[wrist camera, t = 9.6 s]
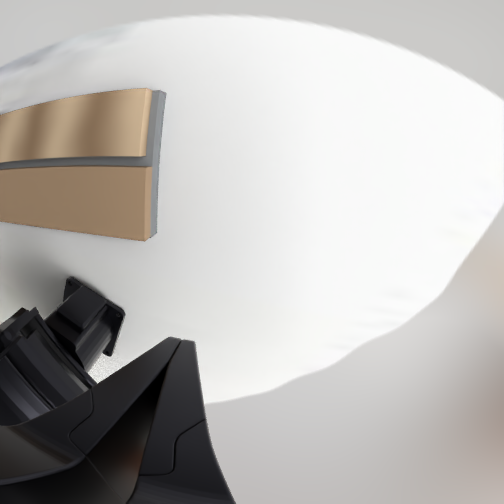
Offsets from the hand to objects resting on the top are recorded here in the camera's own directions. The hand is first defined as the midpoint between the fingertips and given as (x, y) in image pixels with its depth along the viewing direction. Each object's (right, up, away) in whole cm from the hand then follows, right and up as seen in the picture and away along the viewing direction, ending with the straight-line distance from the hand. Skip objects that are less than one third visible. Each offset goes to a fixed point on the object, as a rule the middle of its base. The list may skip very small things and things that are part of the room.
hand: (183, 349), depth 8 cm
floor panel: (-14, +10, +10) cm, 20 cm away
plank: (-14, +12, +8) cm, 20 cm away
